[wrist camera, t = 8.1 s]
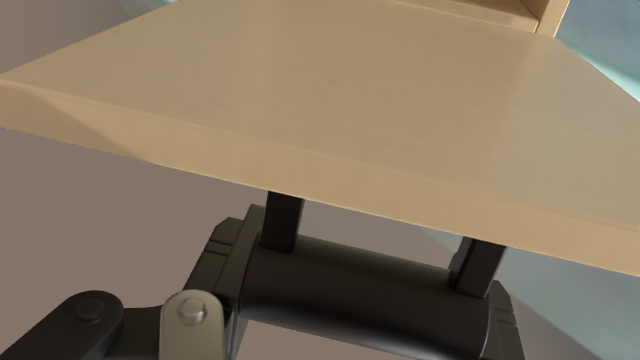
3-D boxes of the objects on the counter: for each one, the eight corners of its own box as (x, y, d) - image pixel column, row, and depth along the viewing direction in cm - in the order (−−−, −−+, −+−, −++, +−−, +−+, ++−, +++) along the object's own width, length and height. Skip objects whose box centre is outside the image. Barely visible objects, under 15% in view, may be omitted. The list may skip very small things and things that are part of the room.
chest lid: (-15, 77, 7) (18, 339, 10) (876, 283, 7) (677, 499, 9) (251, -32, 21) (236, 90, 23) (558, 37, 21) (510, 153, 23)
